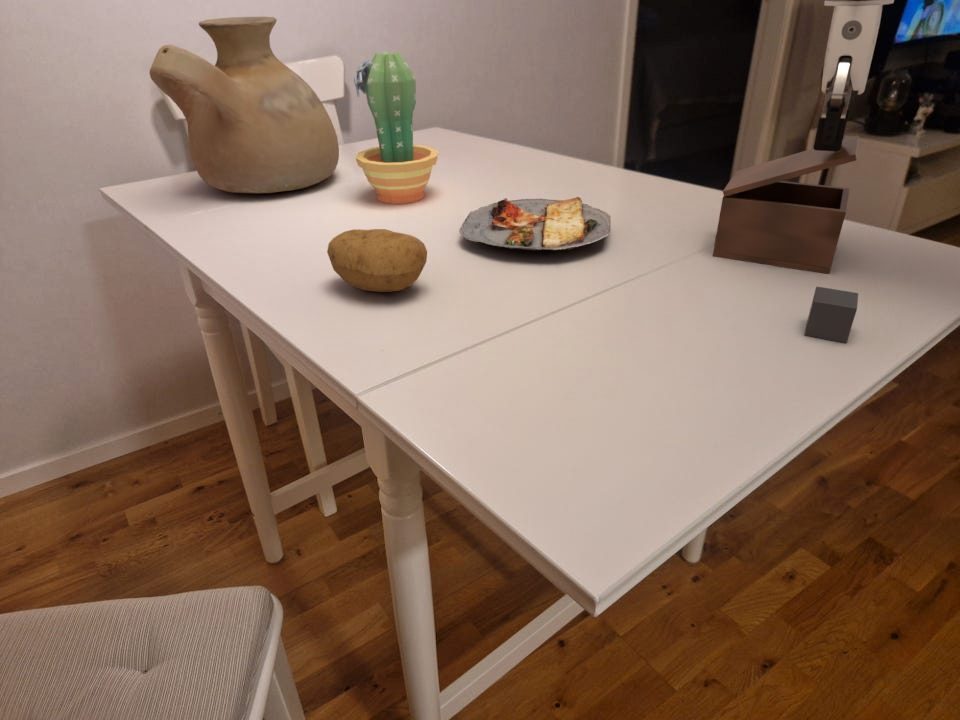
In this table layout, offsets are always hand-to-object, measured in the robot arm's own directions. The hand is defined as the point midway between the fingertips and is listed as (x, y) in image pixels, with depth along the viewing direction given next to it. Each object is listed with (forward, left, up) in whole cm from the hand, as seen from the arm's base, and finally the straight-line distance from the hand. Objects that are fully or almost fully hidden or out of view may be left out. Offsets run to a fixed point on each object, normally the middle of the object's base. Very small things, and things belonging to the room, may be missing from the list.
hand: (828, 144), depth 88 cm
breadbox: (+4, -1, -16) cm, 16 cm away
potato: (+57, +24, -16) cm, 64 cm away
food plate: (+40, -1, -16) cm, 43 cm away
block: (+1, +24, -16) cm, 29 cm away
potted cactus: (+69, -16, -16) cm, 72 cm away
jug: (+99, -18, -16) cm, 102 cm away
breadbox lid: (+4, -1, -4) cm, 5 cm away
